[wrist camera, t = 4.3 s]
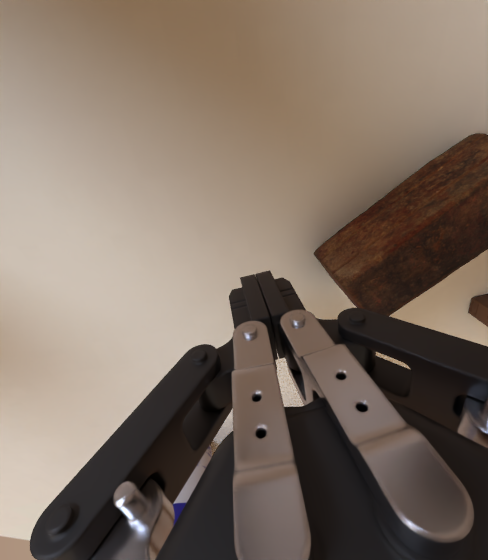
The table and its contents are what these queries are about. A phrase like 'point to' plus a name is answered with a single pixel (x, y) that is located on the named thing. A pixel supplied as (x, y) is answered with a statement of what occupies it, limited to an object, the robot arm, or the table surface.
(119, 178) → the table surface
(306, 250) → the table surface
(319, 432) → the robot arm
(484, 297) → the bracket
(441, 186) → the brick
